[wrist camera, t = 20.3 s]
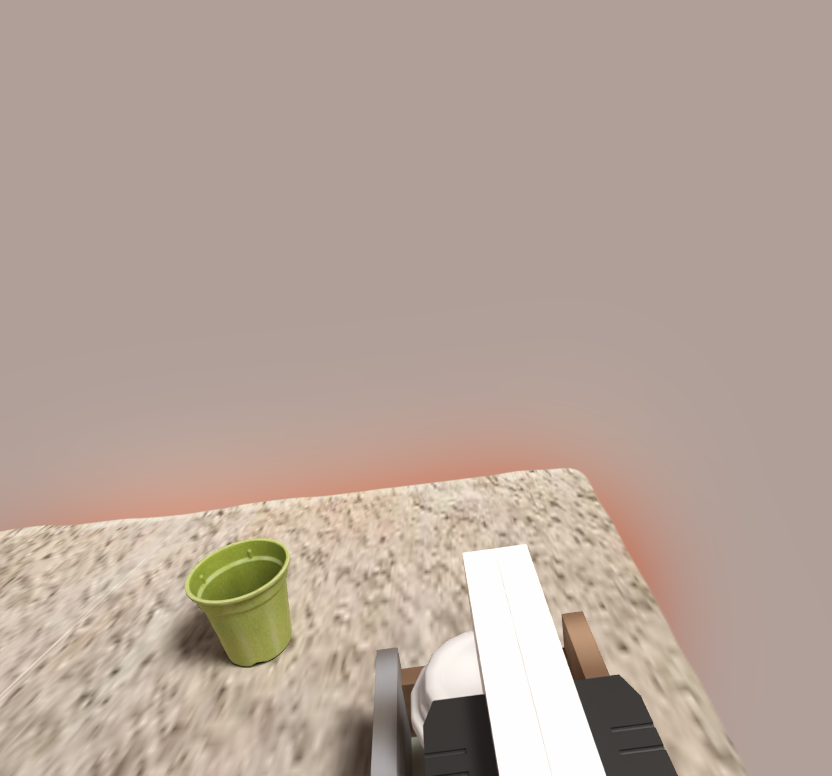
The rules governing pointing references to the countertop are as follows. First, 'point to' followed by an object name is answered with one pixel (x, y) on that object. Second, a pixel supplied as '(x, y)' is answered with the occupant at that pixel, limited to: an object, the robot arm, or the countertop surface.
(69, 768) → the countertop surface
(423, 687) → the coffee cup
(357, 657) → the countertop surface
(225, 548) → the plant pot
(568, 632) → the shelf
